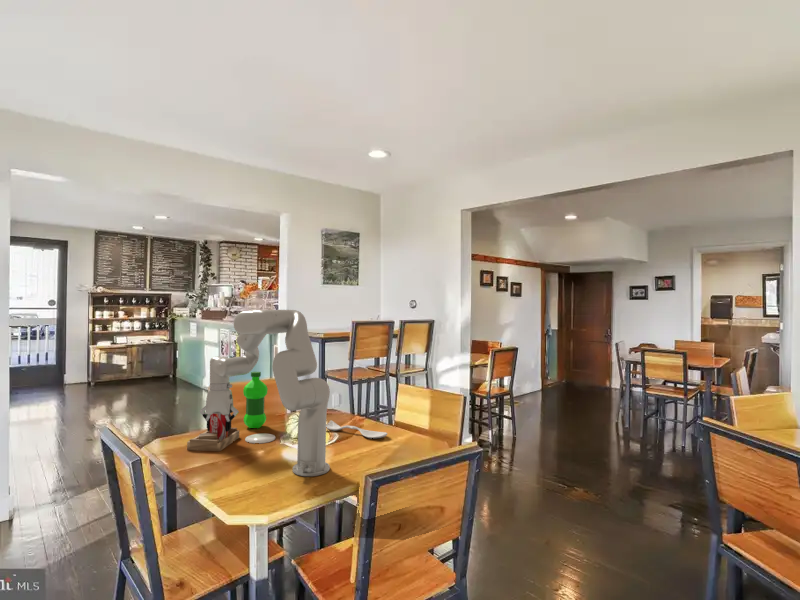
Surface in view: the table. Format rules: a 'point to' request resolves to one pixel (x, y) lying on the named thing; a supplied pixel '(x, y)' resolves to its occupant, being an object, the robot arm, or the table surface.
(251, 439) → the saucer
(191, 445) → the brown shallow rectangular box
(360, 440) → the table surface
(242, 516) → the table surface
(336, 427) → the spoon
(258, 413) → the plastic bottle
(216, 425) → the soda can
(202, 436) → the offcut short
